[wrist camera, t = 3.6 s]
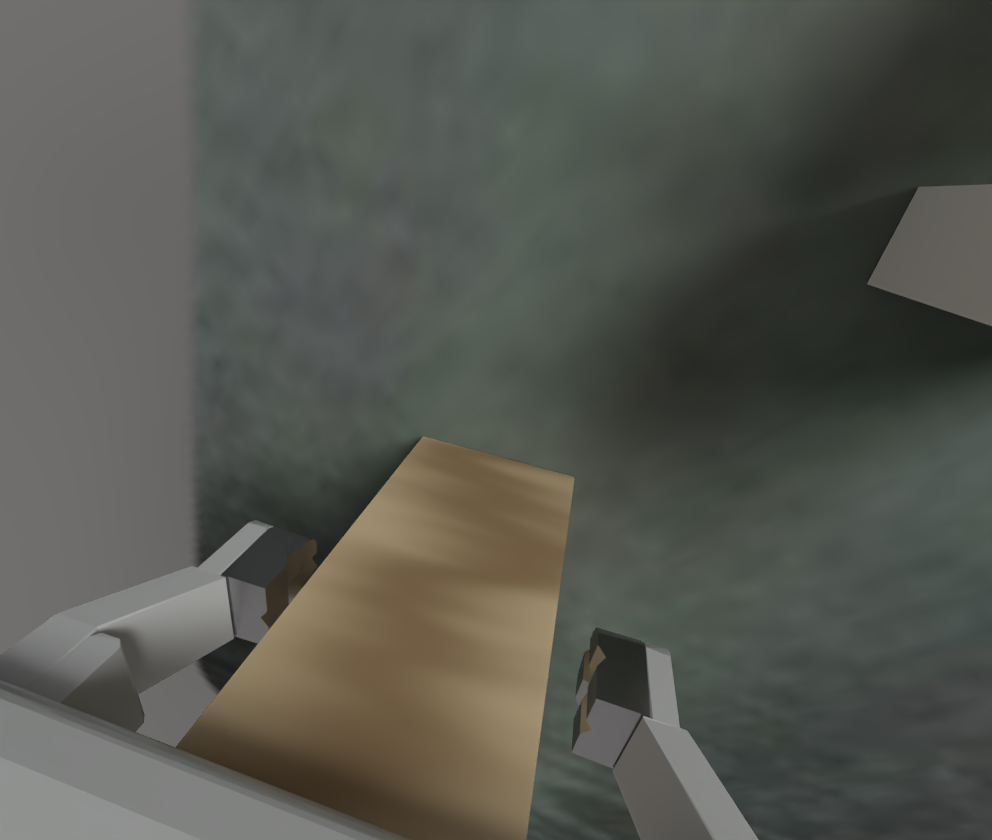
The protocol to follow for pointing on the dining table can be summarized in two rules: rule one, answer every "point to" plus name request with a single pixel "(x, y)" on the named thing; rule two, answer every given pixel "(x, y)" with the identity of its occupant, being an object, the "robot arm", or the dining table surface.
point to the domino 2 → (943, 251)
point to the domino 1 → (412, 655)
